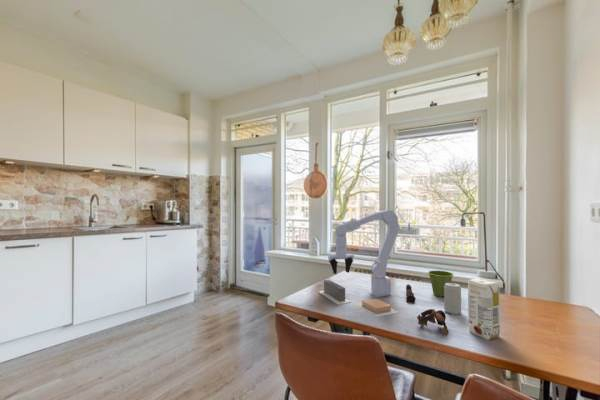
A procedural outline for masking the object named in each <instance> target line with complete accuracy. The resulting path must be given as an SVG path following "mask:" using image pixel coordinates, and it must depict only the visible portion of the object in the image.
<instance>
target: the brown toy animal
mask: <svg viewBox="0 0 600 400" xmlns="http://www.w3.org/2000/svg"><path fill="white" fill-rule="evenodd" d="M416 318H417V320H418V321H417V322H418V323H417V324H418V325H419V326H425V327H428V322H429V323H432V324H437V325H438V326H443V327H442V328H441V332H442V335H443V336H446V335H447V334H448V333H449V329H448V326H447V324H446V313H445V311H443V310H441V309H440V310H436V309H433V308H430V309H427V310H424V311H422V312H421V313H420V314H418V315H417V316H416Z"/></svg>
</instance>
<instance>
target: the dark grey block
mask: <svg viewBox="0 0 600 400" xmlns="http://www.w3.org/2000/svg"><path fill="white" fill-rule="evenodd" d="M323 291H324V292H325V293H327V294H328V295H330V296H331V297H333V298H335V299H336V300H338V301H339V302H341V301H345V298H346V287H344V286H343V285H340V284H338V283H337V282H334V281H332V280H330V279H324V280H323Z"/></svg>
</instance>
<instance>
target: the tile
mask: <svg viewBox="0 0 600 400" xmlns="http://www.w3.org/2000/svg"><path fill="white" fill-rule="evenodd" d="M361 303H362V305H363V306H365V307H366V308H368V309H370V310H372V311H373V312H375V313H378V312H384V311H390V310H391V308H392V305H391V304H389V303H386V302H385V301H382V300H380V299H378V298H370V299H364V300H361Z"/></svg>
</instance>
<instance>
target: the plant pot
mask: <svg viewBox="0 0 600 400" xmlns="http://www.w3.org/2000/svg"><path fill="white" fill-rule="evenodd" d="M427 273H428V275H429V279H430V283H431V287H432V288H431V289H432V293H433V295H434V296H436V297H439V296H440V297H444V286H445V283H452V280H453V276H454V273H453V272H450V271H447V270H428V272H427ZM440 297H439V298H440Z"/></svg>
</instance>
